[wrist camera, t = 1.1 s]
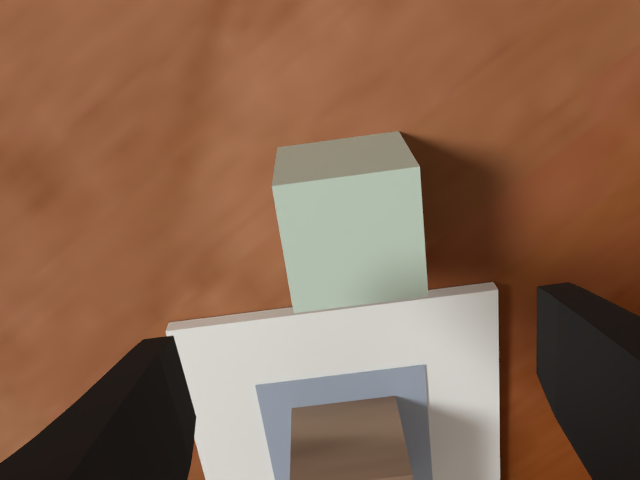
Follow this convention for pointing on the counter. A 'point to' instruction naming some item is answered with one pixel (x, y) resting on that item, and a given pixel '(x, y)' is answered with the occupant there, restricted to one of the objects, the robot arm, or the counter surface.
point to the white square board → (349, 380)
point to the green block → (350, 221)
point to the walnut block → (349, 441)
